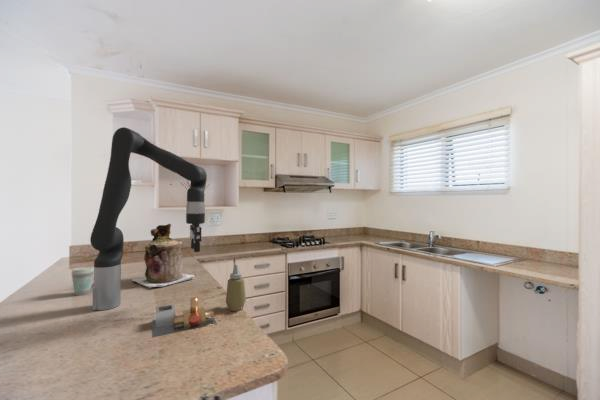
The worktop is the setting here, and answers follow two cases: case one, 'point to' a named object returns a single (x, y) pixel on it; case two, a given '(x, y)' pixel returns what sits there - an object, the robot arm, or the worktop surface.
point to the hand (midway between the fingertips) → (195, 250)
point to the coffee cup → (82, 280)
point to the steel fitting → (165, 315)
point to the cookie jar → (163, 260)
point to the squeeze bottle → (235, 291)
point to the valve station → (187, 320)
